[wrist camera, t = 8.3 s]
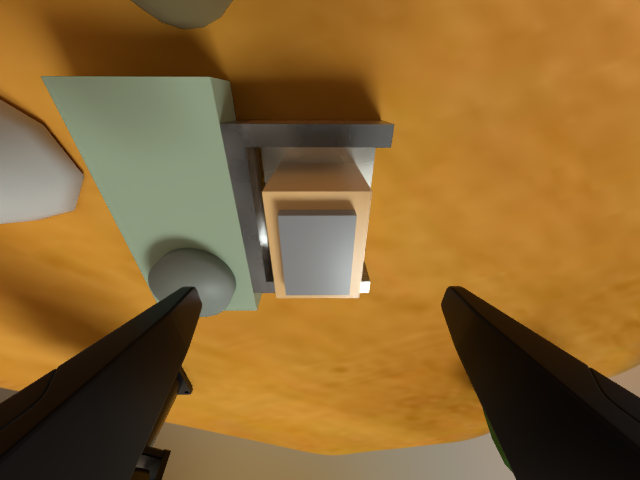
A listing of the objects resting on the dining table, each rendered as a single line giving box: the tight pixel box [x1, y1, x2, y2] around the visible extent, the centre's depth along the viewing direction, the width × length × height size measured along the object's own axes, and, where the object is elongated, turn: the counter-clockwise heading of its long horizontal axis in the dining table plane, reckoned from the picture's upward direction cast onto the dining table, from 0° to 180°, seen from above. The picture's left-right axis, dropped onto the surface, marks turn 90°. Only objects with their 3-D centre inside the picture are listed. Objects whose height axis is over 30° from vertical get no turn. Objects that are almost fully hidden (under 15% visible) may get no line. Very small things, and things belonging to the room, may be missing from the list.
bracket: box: [220, 120, 394, 293], centre depth 14 cm, size 10×8×2 cm
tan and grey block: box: [262, 163, 372, 298], centre depth 13 cm, size 6×4×6 cm
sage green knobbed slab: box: [41, 76, 262, 317], centre depth 14 cm, size 14×7×4 cm, turn 0°
